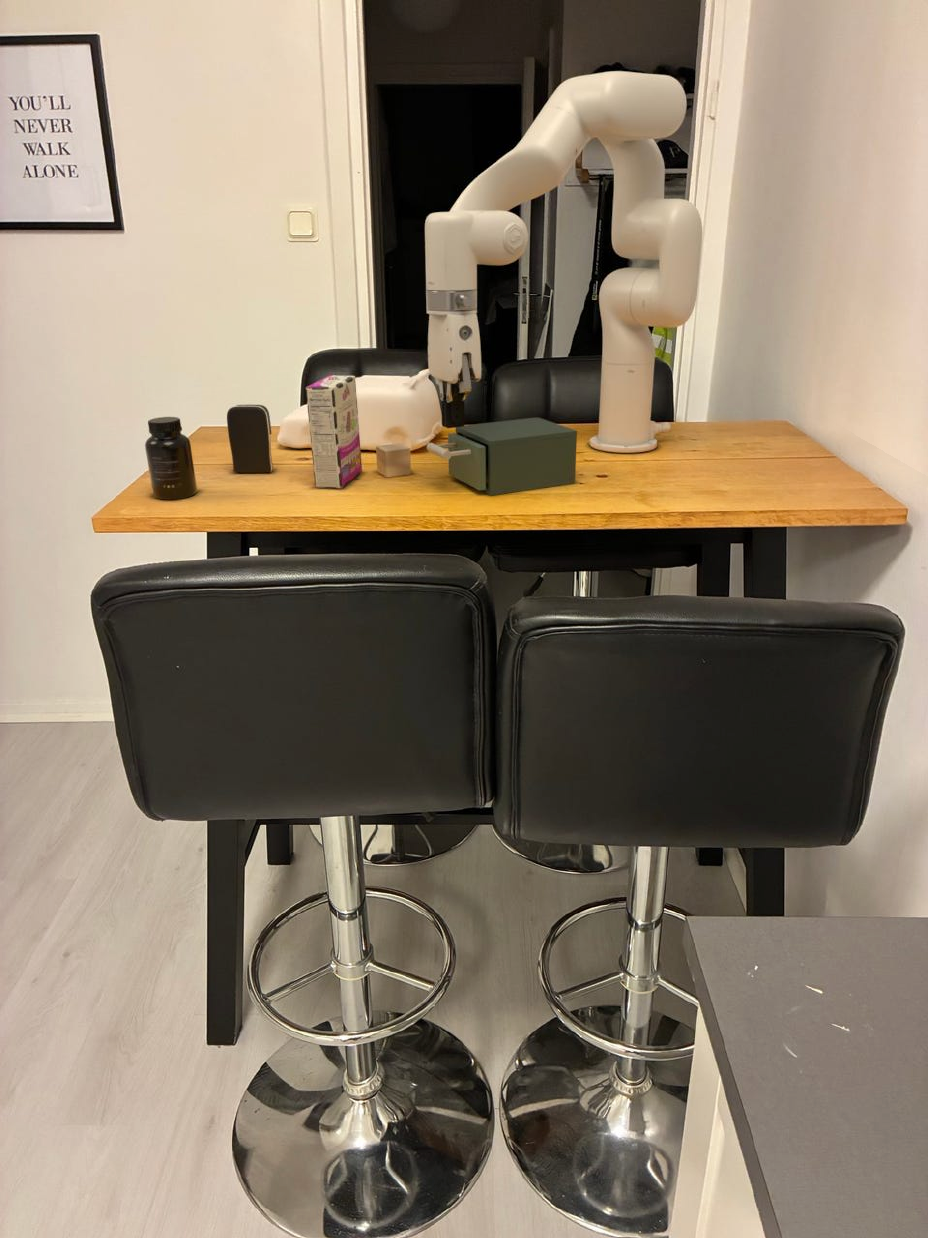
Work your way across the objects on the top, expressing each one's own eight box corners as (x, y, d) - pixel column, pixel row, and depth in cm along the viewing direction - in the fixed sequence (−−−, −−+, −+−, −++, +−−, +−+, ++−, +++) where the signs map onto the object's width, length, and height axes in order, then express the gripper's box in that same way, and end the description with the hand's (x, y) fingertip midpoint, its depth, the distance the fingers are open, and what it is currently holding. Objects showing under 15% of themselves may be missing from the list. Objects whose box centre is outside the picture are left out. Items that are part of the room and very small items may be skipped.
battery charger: (277, 468, 159) (270, 402, 155) (271, 473, 156) (265, 406, 151) (237, 468, 160) (230, 402, 155) (231, 473, 156) (224, 406, 151)
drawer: (450, 494, 139) (449, 451, 136) (421, 477, 149) (420, 436, 146) (558, 479, 147) (560, 437, 144) (524, 463, 156) (525, 424, 153)
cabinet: (490, 495, 142) (490, 441, 138) (456, 477, 152) (455, 426, 149) (575, 483, 148) (577, 430, 144) (536, 466, 158) (537, 417, 155)
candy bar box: (335, 471, 157) (328, 374, 150) (362, 472, 156) (357, 375, 149) (312, 488, 147) (304, 385, 140) (342, 489, 146) (334, 386, 139)
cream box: (401, 468, 158) (400, 443, 156) (411, 474, 154) (410, 448, 152) (377, 471, 156) (375, 445, 154) (386, 477, 152) (385, 451, 151)
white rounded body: (427, 455, 166) (425, 381, 161) (273, 450, 172) (266, 378, 166) (448, 433, 184) (447, 365, 178) (308, 429, 189) (302, 363, 184)
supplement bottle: (158, 489, 147) (147, 415, 142) (201, 488, 148) (191, 414, 143) (148, 501, 141) (136, 424, 136) (193, 499, 141) (182, 423, 137)
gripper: (497, 305, 129) (496, 433, 137) (453, 298, 142) (454, 416, 149) (450, 307, 126) (451, 437, 134) (409, 300, 139) (412, 420, 146)
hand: (453, 426), depth 141 cm, fingers closed
